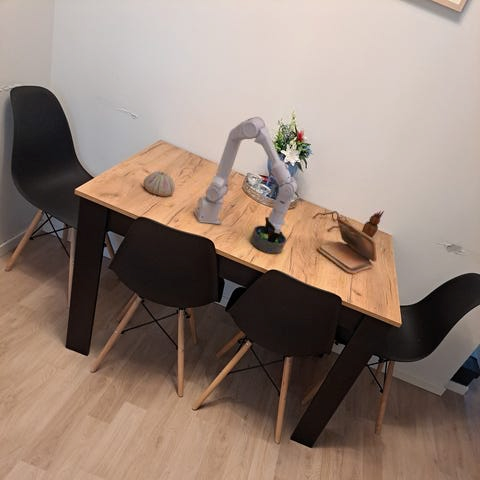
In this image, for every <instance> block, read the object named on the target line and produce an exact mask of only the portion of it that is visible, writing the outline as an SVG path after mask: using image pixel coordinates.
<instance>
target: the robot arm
mask: <svg viewBox="0 0 480 480" xmlns="http://www.w3.org/2000/svg"><path fill="white" fill-rule="evenodd" d="M253 139H254V140H253ZM244 140H253V142H254V143H256V144H258V145H260V146H262V148H263V150H264V153H265V154H266V156H267V158H268V159H269V161H270V163H271V167H270V171H271V174H272V175H273V177H274V179H275V181H276V184H277V185H278V186H279V187H278V194H277V196H276V199H275V201H274V204H273V206H272V209H271V211H270V212H269V216H265V217H264V219H265V225H264V226H265V232H264V234H268V239H267V241H269V242H272V243H274V242H275V241H276V239H277V238H278V237H280V236H281V235H282V234H283V232H282V226H286V221H284V220H285V218H286V215H287V213H288V211H289V208H290V206H291V204H292V200H293V198H294V195H295V193H296V192H297V190H298V183H297V180H295V178H294V177H293V176H292V175H291V173H290V171H289V167H290V166H289V164H288V163H287V164H286V162H285V161H284V160H281V159H280V157H279V153H278V151H277V148H276V146H275V144H274V141H273V139H272V137H271V134H270V130H269V128H268V126H267V125H266V122H265V121H264V119H262V118H261V117H260V116H253V117H251V118H248V119H245V120H244V121H241V122H240V123H238V124H237V125H236V126H235V127H234V128H232V129H231V130H230V132H229V134H228V136H227V140H226V142H225V146H224V149H223V152H222V155H221V158H220V160H219V164H218V167H217V170H216V172H215V173H216V174H215V176H214V178H213V179H212V180H211V182H210V184H209V186H208V187H207V188H206V190H205V196H200V197H198V200H197V203H196V206H195V210H194V211H193V212H194V215H195V217H196V219H197V220H198V222H199V223H205V224H213V225H214V224H215V225H221V222H220V220H219V216H220V213H221V211H222V208H223V204H224V197H225V196H226V195H227V194H228V191H229V182H230V181H229V178H230V174H231V172H232V169H233V167H234V163H235V160H236V157H237V155H238V152H239V149H240V146H241V143H242V141H244Z"/></svg>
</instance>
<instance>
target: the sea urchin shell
mask: <svg viewBox="0 0 480 480" xmlns="http://www.w3.org/2000/svg"><path fill="white" fill-rule="evenodd" d="M143 179H144V180H143V186H144V188H145V190H147V192H149V193H151V194H153V195H158V196H161V197H162V196H163V197H169V196H172V195H173V194H174V193H175V191H176V184H175V182H174V181H173V178H172V177H171V176H170V175H169V174H168V173H166V172H163V171H160V170H158V171H154V172H152V173H150V174H148V175H146V176H145V178H143Z"/></svg>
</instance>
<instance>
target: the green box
mask: <svg viewBox="0 0 480 480" xmlns="http://www.w3.org/2000/svg"><path fill="white" fill-rule="evenodd" d="M258 236H260V237H261V238H263V239H264V240H267V239H268V234H264V233H260V234H259V235H258ZM274 243H278V240H277V239H276V241H275V242H274Z"/></svg>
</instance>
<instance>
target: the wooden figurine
mask: <svg viewBox="0 0 480 480" xmlns="http://www.w3.org/2000/svg"><path fill="white" fill-rule="evenodd" d="M384 212H385V210H382V211H381V210H380V211H379V212H374V214H373V215H371V216H370V217H369V221H366V222H365V223H364V225H363V226H362V230H361V231H362V232H363V233H365V234H366V235H368V236H369V237H371V238H372V239H373V238H374V236H375V235H376V233H377V232H378V229H379V226H378V225H379V224H380V222H381V218H382V216H383V214H384Z"/></svg>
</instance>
